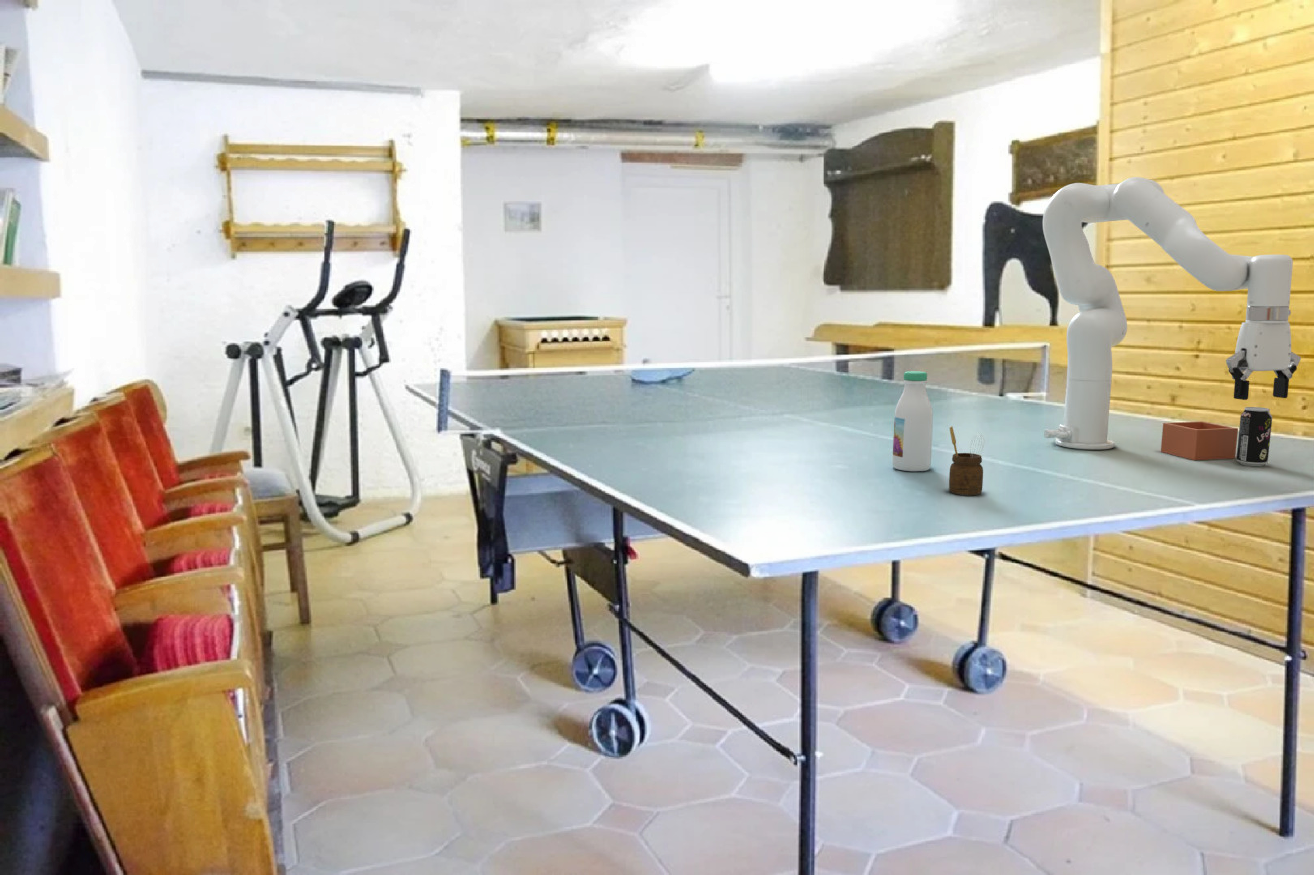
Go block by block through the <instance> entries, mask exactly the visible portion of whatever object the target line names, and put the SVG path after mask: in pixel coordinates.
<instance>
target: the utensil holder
mask: <svg viewBox="0 0 1314 875" xmlns="http://www.w3.org/2000/svg"><path fill="white" fill-rule="evenodd" d="M949 433H950V438H951V443H952V445H953V448H954V452H955V453H953V454H952V458H951V461H952V463H951V465H950V467H949V477H948V489H949V492H950V493H951V494H954V495H957V496H979V495H980V494H982V492H983V486H984V485H983V484H984V467H983V465H982V463H983V457H982V455H981V454H982V451H983V450H984V445H980V444H985V441H986V440H985V438H984V436H983V435H981V434H980V435H978V434H975V437H976V438H977V439H976V440H978V439H979V438H980V440H979V441H978V443H980V444H978V446H977V444H975V443H976V442H975V437H972V438H971V442H970V444H969V447H972V446H974V447H976V446H977V449H976V448H973V450H971V452H958V448H957V438H956V434H955V430H954V427H953V426H950V427H949ZM973 440H974V441H973ZM980 441H981V442H980ZM982 441H983V442H982ZM972 444H973V445H972ZM979 446H980V447H979ZM981 446H982V447H981ZM979 448H980V449H979ZM978 449H979V451H978V453H974V452H975V450H978Z"/></svg>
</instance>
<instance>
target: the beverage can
mask: <svg viewBox="0 0 1314 875" xmlns="http://www.w3.org/2000/svg"><path fill="white" fill-rule="evenodd" d="M1272 424H1273V415H1272V414H1271V412H1270V408H1268V407H1259V406H1245V407H1244V410H1243V411H1242V413H1240V417H1239V428H1238V436H1237V447H1236V457H1235V460H1236V461H1237V462H1238V463H1239V464H1240V465H1243V466H1248V467H1263V466H1264V465H1266V464H1268V463H1269V453H1270V444H1271V433H1272V426H1273V425H1272Z"/></svg>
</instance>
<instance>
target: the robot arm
mask: <svg viewBox="0 0 1314 875" xmlns="http://www.w3.org/2000/svg"><path fill="white" fill-rule="evenodd" d="M1118 221H1129V222H1130V223H1132V225H1134V226H1135V227H1136V228H1138V229H1139V230H1140V231H1141V232H1143V233H1144V234H1145V235H1146V236H1147V237H1148V238H1150V239H1152V241H1154V242H1155V243H1156V244H1157V245H1159V246H1160V247H1161V249H1162V250H1163V251H1164V252H1165V253H1166V254H1167V255H1168V256H1170V258H1171V259H1172V260H1173V261H1175V263H1177V264H1178V265H1179V266H1180V267H1181V268H1182V269H1183V270H1185V271H1186V272H1187V273H1188V274H1190V276H1192V277H1193V278H1195V279H1196V280H1197V281H1198V282H1199V283H1201V284H1202V285H1203V286H1205V287H1206V288H1208V289H1210V290H1212V291H1216V292H1233V291H1240V290H1247V296H1246V309H1245V310H1246V311H1245V322H1243V321H1242V322H1241V325H1240V328H1239V330H1238V335H1237V338H1236V339H1237V340H1236V345H1235V350H1234V354H1232V355H1230V356H1229V357H1227V358H1226V359H1225V364H1226V366H1227V368H1228V373H1229V374H1230V375H1231V378H1232V380H1234V388H1233V398H1234V400H1240V401H1241V400H1242V401H1247V400H1249V391H1250V380H1248V378H1249V377H1250V376H1251V375H1252V373H1253V372H1269V371H1271V372H1274V374H1275V375H1276V377H1274V379H1273V388H1272V396H1273V397H1274V398H1279V399H1288V396H1289V386H1290V385H1289V384H1290V380H1291V379H1292V378H1293V374H1295V372H1296V371H1297V369H1298V365H1299V364H1300V362H1301V360H1302V359H1301V356H1300V355H1298V354H1296V353H1295V352H1293V351H1292V332H1291V324H1290V322H1289V317H1290V316H1291V314H1292V311H1291V309H1290V304H1291V302H1290V301H1291V290H1292V277H1293V266H1294V263H1293V262H1294V261H1293V258H1292V257H1291V256H1290V255H1288V254H1259V255H1254V256H1250V255H1240V254H1230V253H1228V252H1227V251H1226V250H1224V249H1223V247H1220V246H1219V245H1218V244H1216V243H1215V242H1214V241H1213V240H1211V239H1210V238H1209V237H1208V236H1207V235H1206V234H1205V233H1204V232H1203V231H1202V230H1201V229H1200V228H1199V226H1198V224H1197V221H1196V219H1195V217H1194V216H1193V215H1192V214H1191V213H1190V212H1189V211H1187V210H1186V209H1185V208H1184V207H1182V206H1181V205H1179V204H1178V203H1177V202H1175V201H1174V200H1173V199H1172V198H1170V196H1168V195H1167V194H1166V193H1165V191H1164V189H1163V187H1162V185H1161V184H1159V183H1158V182H1156V181H1155V180H1153V179H1150V178H1145V177H1141V176H1133V177H1128V178H1126V179H1124V180H1123V181H1122V182H1119V183H1112V184H1111V183H1110V184H1102V185H1101V184H1099V185H1094V184H1089V183H1084V182H1074V183H1070V184H1066V185H1065V186H1063V187H1061V188H1060V189H1059V190H1057V191H1056V192H1055V193H1054V194H1053V195H1052V196H1051V198H1050V199H1049V201H1048V202H1047V204H1046V206H1045V209H1044V211H1043V216H1042V231H1043V235H1044V236H1043V237H1044V240H1045V244H1046V246H1047V250H1048V253H1049V257H1050V261H1051V264H1052V265H1051V266H1052V268H1053V273H1054V275H1055V279H1056V282H1057V286H1058V291H1059V294H1060V296H1061V297H1062V299H1063V300H1064V301H1065V302H1066V303H1068V304H1070V305H1075V306H1077V307H1078V310H1079V312H1078V313H1076V314H1075V315H1074V316H1073V317H1072V318H1071V320H1070V321H1069V323H1068V326H1067V330H1066V350H1067V370H1066V384H1065V385H1066V386H1065V387H1066V388H1065V401H1064V415H1063V416H1064V417H1063V424H1059V426H1058V428H1056V429H1045V430H1044V434H1043V435H1044V437H1045V439H1055V445H1057V446H1059V447H1064V448H1069V449H1077V450H1093V451H1094V450H1096V451H1097V450H1109V449H1112V448H1114V447H1115V442H1114V441H1113V440H1111V439H1108V434H1109V421H1110V420H1109V419H1110V408H1111V407H1110V406H1111V395H1112V394H1111V392H1112V378H1113V353H1112V348H1113V347H1115V346H1117V345H1119V344H1120V343H1121V342H1122V341H1123V340H1124V339H1125V337H1126V336H1127V332H1128V321H1127V317H1126V313H1125V310H1124V306H1123V303H1122V299H1121V296H1120V293H1119V289H1118V286H1117V282H1116V280H1115V278H1114V276H1113V274H1112V273H1111V271H1110V270H1109V269H1108V268H1106V267H1105V266H1104V265H1101V264H1098V263H1095V261H1094V258H1093V255H1092V251H1091V247H1090V244H1089V241H1088V239H1087V237H1086V234H1085V232H1084V230H1083V227H1082V226H1083V223H1086V224H1093V223H1095V224H1096V223H1105V222H1106V223H1107V222H1118Z"/></svg>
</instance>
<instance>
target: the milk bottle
mask: <svg viewBox="0 0 1314 875" xmlns="http://www.w3.org/2000/svg"><path fill="white" fill-rule="evenodd" d="M927 380H928V373H927V372H925V371H919V370H917V371H916V370H907V371H905V372H904V373H903V383H904V387H903V390H902V394H901V396H900V398H899V399H898V401H897V403H896V407H895V411H894V417H893V418H894V420H893V437H892V438H893V440H892V462H891V463H892V467H893V468H894V469H896V470H899V471H905V472H925V471H929V470H930V469H931V466H932V452H933V451H932V450H933V427H934V426H933V424H934V423H933V422H934V412H933V407H932V403H931V401H930V398H929V395H928V393H927V388H926V386H927V383H928V382H927Z"/></svg>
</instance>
